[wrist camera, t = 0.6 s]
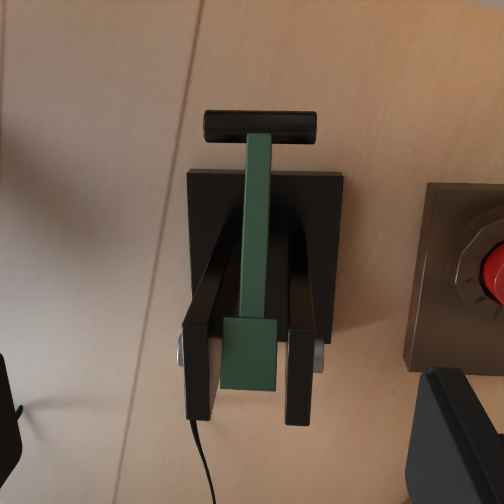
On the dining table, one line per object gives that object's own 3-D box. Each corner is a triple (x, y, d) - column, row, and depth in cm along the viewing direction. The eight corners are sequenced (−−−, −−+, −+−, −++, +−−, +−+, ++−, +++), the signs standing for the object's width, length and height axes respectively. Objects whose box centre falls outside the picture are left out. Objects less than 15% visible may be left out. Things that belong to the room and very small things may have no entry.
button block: (427, 182, 28) (445, 197, 25) (587, 185, 27) (628, 201, 24) (402, 357, 32) (415, 389, 29) (540, 363, 32) (569, 397, 28)
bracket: (190, 168, 29) (120, 240, 17) (341, 171, 28) (380, 248, 16) (196, 329, 33) (143, 479, 21) (329, 334, 32) (353, 493, 20)
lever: (210, 122, 23) (202, 99, 21) (314, 123, 23) (318, 100, 20) (195, 380, 21) (184, 387, 19) (308, 386, 21) (311, 393, 18)
